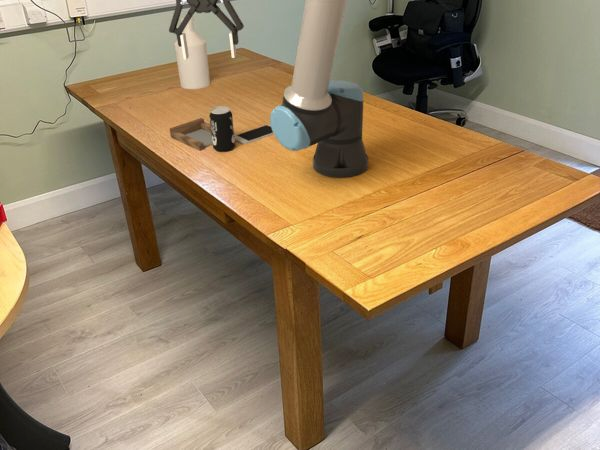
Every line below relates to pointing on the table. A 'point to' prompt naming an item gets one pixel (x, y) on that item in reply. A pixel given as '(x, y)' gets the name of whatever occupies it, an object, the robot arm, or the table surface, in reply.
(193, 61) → the bottle
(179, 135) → the walnut U-rest
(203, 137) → the grey rubber pad
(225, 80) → the table surface
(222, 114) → the beverage can
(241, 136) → the smartphone
